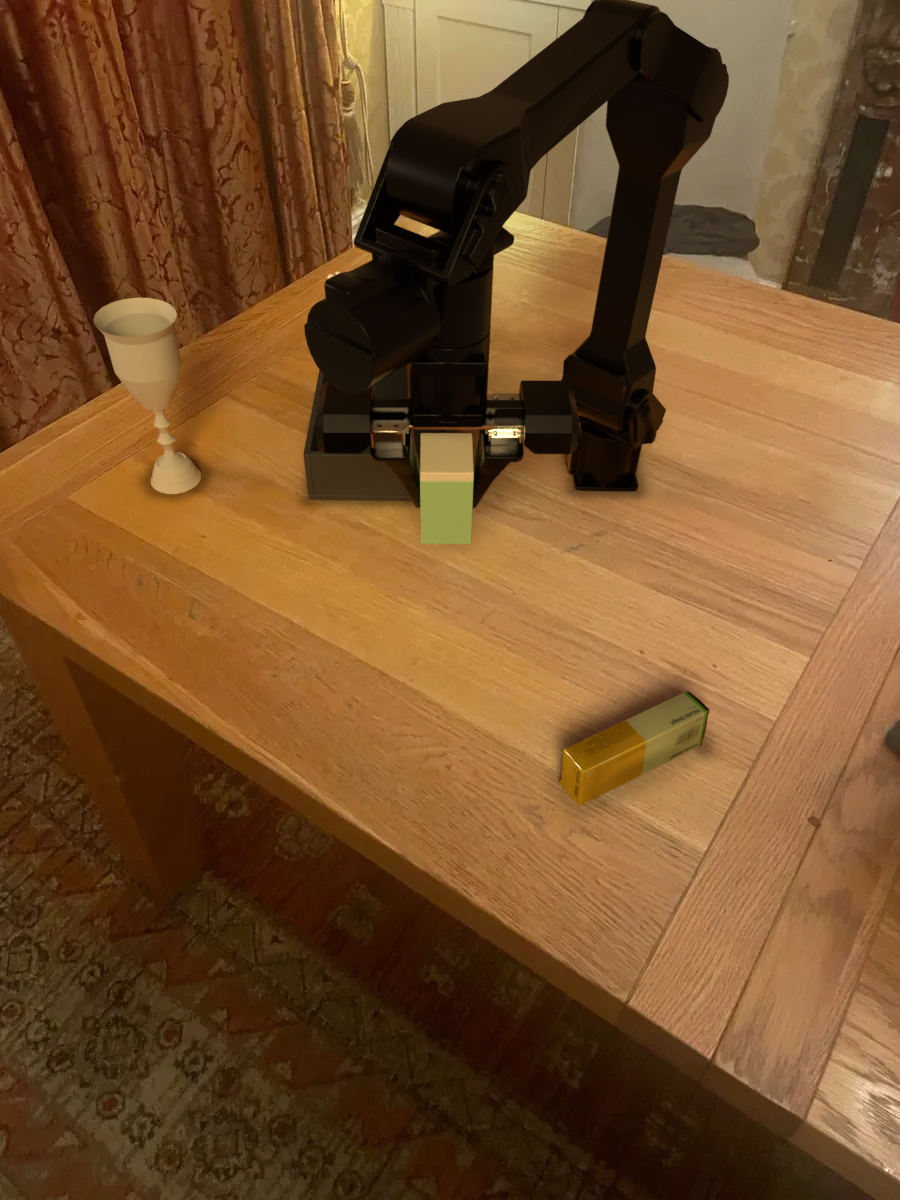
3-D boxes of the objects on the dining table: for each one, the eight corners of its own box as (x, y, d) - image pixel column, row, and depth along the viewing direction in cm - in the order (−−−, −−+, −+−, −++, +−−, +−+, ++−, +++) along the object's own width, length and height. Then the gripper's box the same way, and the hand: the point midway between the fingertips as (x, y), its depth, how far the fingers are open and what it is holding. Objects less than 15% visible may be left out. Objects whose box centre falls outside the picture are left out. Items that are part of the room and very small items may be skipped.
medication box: (681, 722, 72) (689, 687, 70) (704, 745, 71) (713, 710, 68) (557, 783, 68) (561, 747, 65) (578, 808, 66) (583, 773, 64)
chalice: (225, 469, 94) (193, 308, 81) (185, 507, 90) (144, 344, 77) (167, 450, 96) (126, 291, 83) (125, 487, 92) (76, 324, 79)
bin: (450, 399, 104) (451, 356, 100) (450, 501, 91) (451, 456, 87) (326, 397, 103) (322, 353, 99) (308, 499, 91) (303, 454, 87)
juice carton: (469, 503, 76) (472, 432, 70) (471, 544, 72) (473, 473, 67) (421, 503, 75) (420, 432, 70) (420, 544, 72) (419, 473, 67)
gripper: (573, 271, 67) (553, 444, 78) (320, 269, 66) (337, 443, 78) (591, 352, 59) (566, 530, 70) (304, 350, 59) (326, 530, 70)
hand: (446, 504), depth 72 cm, fingers closed on juice carton, 4 cm apart
